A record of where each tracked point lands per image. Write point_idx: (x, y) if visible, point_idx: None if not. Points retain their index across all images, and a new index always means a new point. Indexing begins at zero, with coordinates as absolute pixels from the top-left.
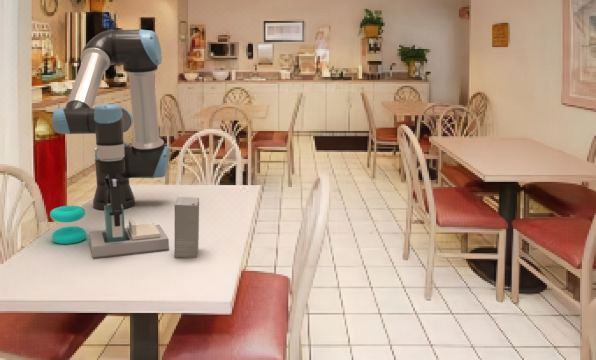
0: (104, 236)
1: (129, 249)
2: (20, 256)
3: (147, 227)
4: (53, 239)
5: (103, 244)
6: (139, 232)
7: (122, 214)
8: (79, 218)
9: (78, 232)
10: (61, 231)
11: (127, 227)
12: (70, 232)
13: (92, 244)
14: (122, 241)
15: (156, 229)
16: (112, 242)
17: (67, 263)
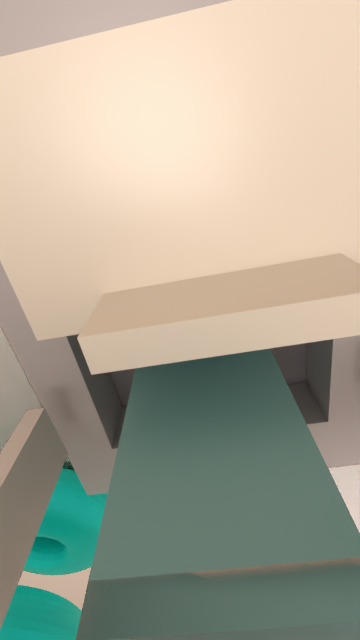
0: (113, 420)
1: None
2: None
3: (101, 154)
4: None
5: (355, 424)
6: (264, 231)
7: (338, 502)
8: (49, 601)
9: (75, 518)
10: (77, 566)
11: (59, 333)
12: (88, 542)
13: (329, 465)
14: (344, 337)
15: (201, 27)
16: (338, 388)
17: (353, 479)
